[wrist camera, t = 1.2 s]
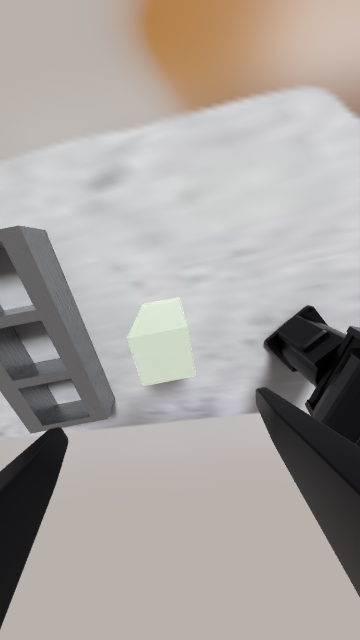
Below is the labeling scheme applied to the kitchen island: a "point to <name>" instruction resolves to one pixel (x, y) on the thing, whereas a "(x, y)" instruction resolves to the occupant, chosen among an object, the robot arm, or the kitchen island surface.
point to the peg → (161, 343)
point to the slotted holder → (65, 332)
